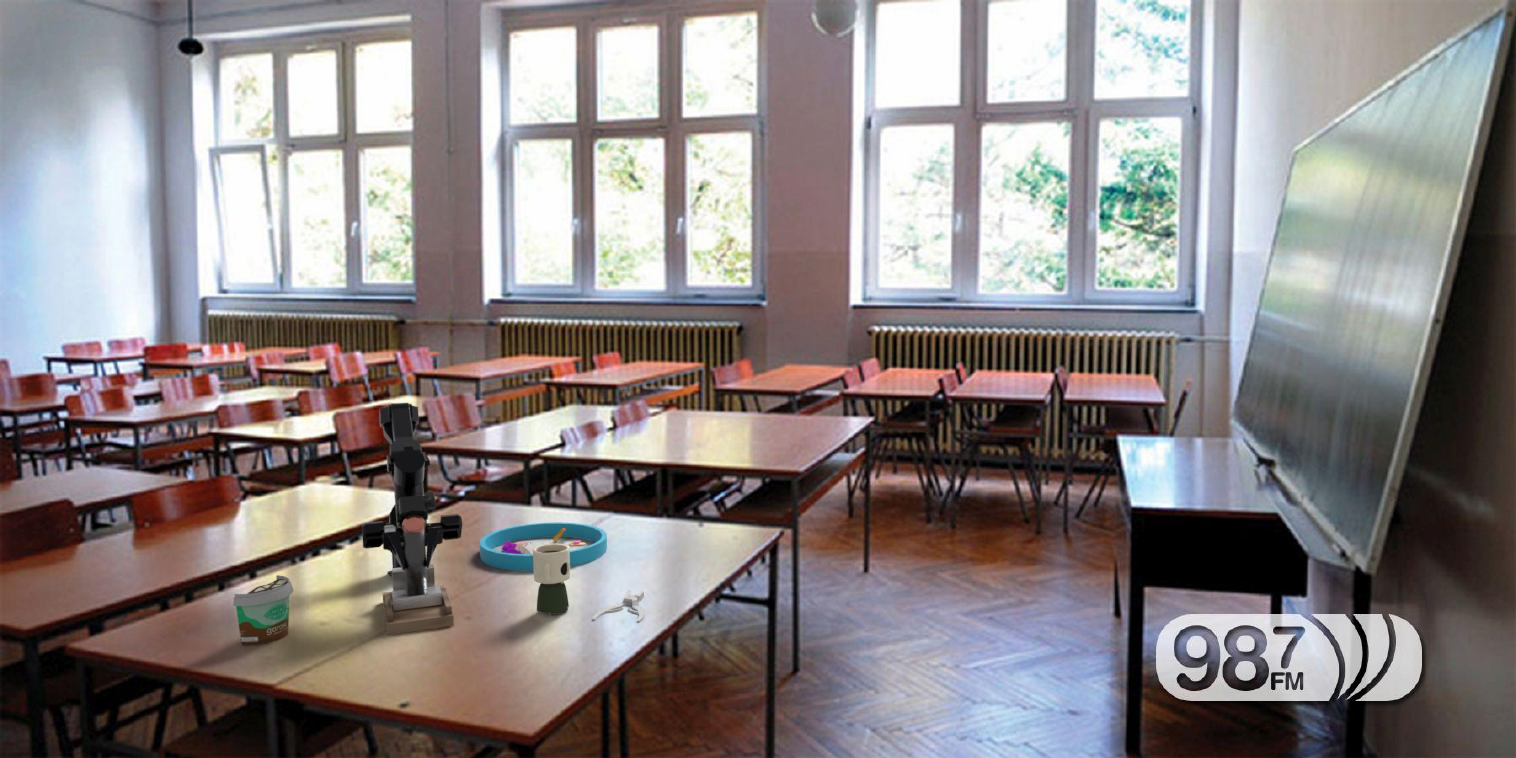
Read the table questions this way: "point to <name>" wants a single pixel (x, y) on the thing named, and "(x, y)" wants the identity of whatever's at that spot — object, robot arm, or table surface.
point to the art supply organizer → (521, 556)
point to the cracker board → (416, 616)
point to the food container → (264, 612)
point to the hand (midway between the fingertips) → (416, 568)
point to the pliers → (628, 600)
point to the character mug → (551, 577)
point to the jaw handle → (415, 569)
